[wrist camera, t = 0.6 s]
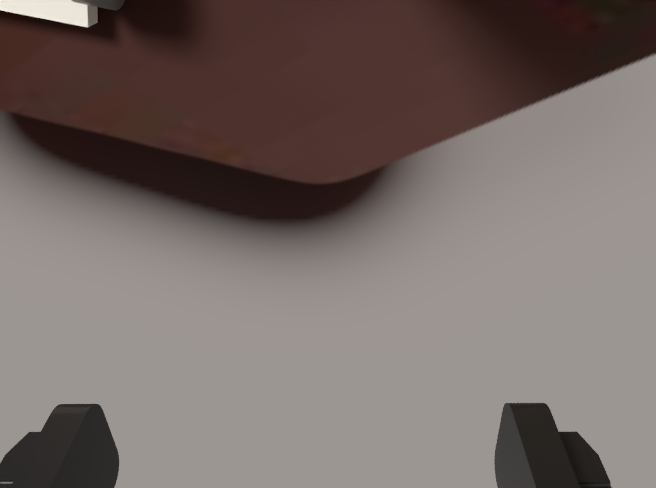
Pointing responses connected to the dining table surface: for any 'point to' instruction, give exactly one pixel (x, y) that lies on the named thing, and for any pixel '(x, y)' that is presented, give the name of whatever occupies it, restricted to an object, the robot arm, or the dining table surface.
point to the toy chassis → (61, 9)
